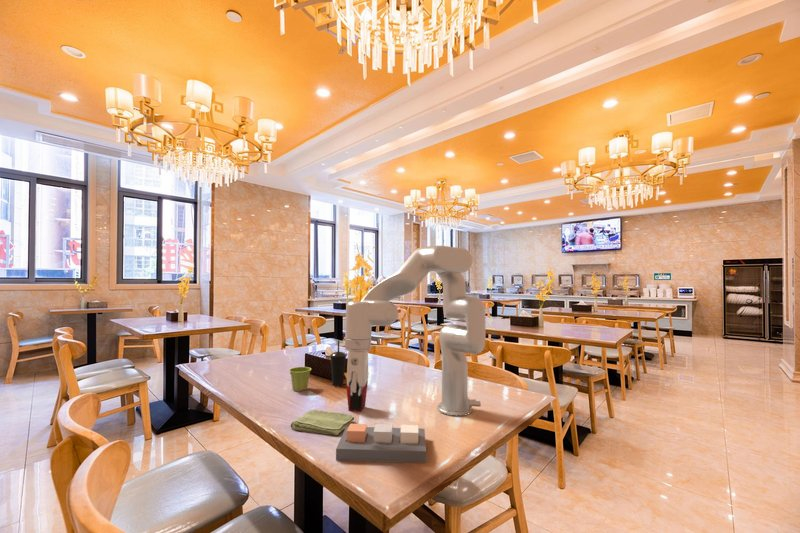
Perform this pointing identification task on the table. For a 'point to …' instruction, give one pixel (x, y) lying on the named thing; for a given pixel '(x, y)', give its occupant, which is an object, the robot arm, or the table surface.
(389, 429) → the grey key
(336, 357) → the drinking cup
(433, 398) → the table surface
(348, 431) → the terracotta key
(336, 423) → the washcloth
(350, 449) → the keypad base
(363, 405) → the french fries
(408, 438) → the cream key
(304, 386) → the plant pot
